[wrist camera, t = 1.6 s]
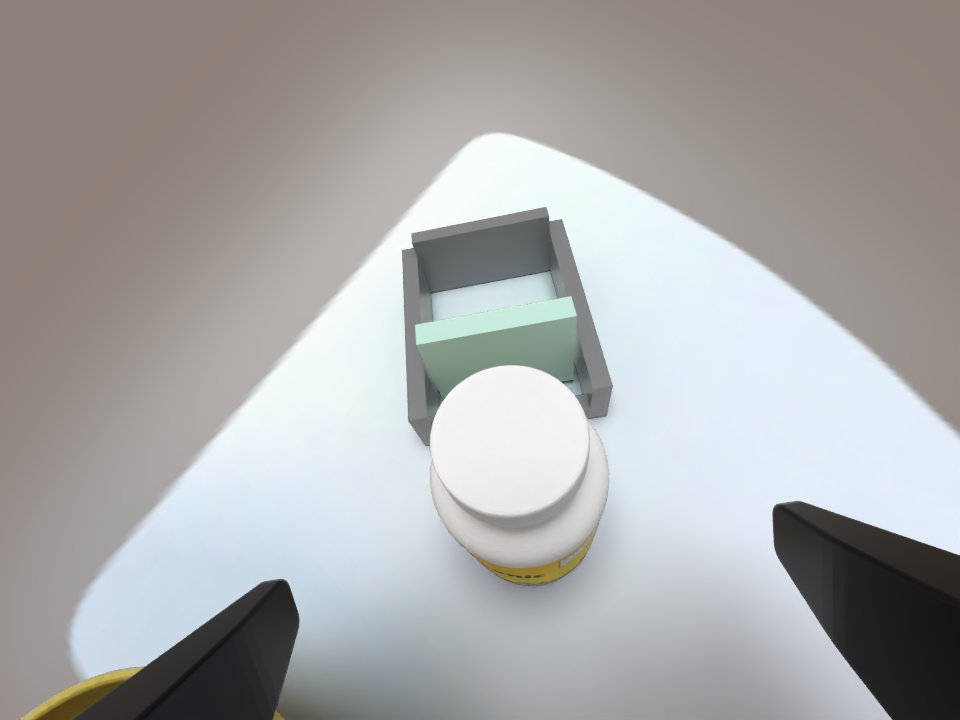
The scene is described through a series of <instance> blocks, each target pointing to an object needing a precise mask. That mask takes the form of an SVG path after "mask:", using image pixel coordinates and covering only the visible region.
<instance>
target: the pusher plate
mask: <svg viewBox="0 0 960 720" xmlns="http://www.w3.org/2000/svg"><path fill="white" fill-rule="evenodd" d="M576 323H577V315H576V311H575V308H574V304H573V301H572V297H571V296H569V297H564V298H558V299H553V300H547V301H542V302H536V303H531V304H526V305H520V306H515V307H509V308H504V309H498V310H493V311H487V312H482V313H477V314H471V315H466V316H460V317H455V318H449V319H444V320H439V321H433V322H428V323H422V324H417V325H415V333H416V346H417V348H418V350H419V352H420V354H421V356H422V358H423V360H424V362H425V364H426V366H427V368H428V370H429V372H430V374H431V376H432V378H433V380H434V383H435V385H436V387H437V389H438V391H439V393H440V395H441V397H442V399H443V400H444V399H445V398H446V396H447V395H448V394H449V393H450V392H451V390H452V389H453V388H455V387H456V386H457V385H458V384H459V383H461V382H462V381H463V380H465V379H466V378H468V377H470V376H471V375H473V374H475V373H477V372H479V371H482V370H485V369H488V368H492V367H497V366H505V365H516V366H526V367H531V368H535V369H538V370H541V371H543V372H545V373H548V374H549V375H551V376H553V377H555V378H556V379H558V380H559V381H560V382H562V381H568V380H574V361H575V342H576Z"/></svg>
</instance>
